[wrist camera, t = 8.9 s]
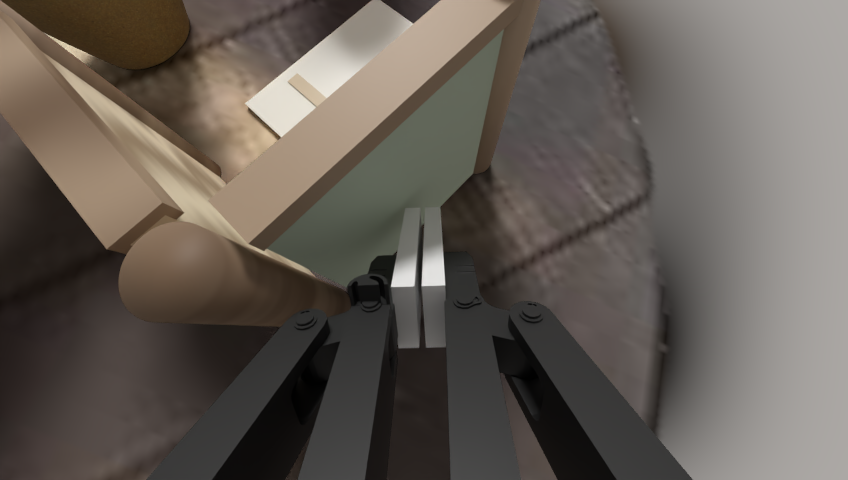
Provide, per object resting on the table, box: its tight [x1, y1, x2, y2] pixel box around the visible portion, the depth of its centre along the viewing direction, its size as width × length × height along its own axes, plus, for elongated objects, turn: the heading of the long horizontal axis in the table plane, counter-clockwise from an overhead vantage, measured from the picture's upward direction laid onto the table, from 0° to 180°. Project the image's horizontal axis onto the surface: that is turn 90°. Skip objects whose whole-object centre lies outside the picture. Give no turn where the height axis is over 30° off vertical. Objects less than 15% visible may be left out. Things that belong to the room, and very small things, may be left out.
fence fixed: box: [0, 0, 351, 327], centre depth 16 cm, size 16×3×14 cm, turn 47°
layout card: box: [245, 0, 413, 137], centre depth 25 cm, size 12×14×1 cm
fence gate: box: [208, 0, 541, 287], centre depth 15 cm, size 13×2×13 cm, turn 137°
